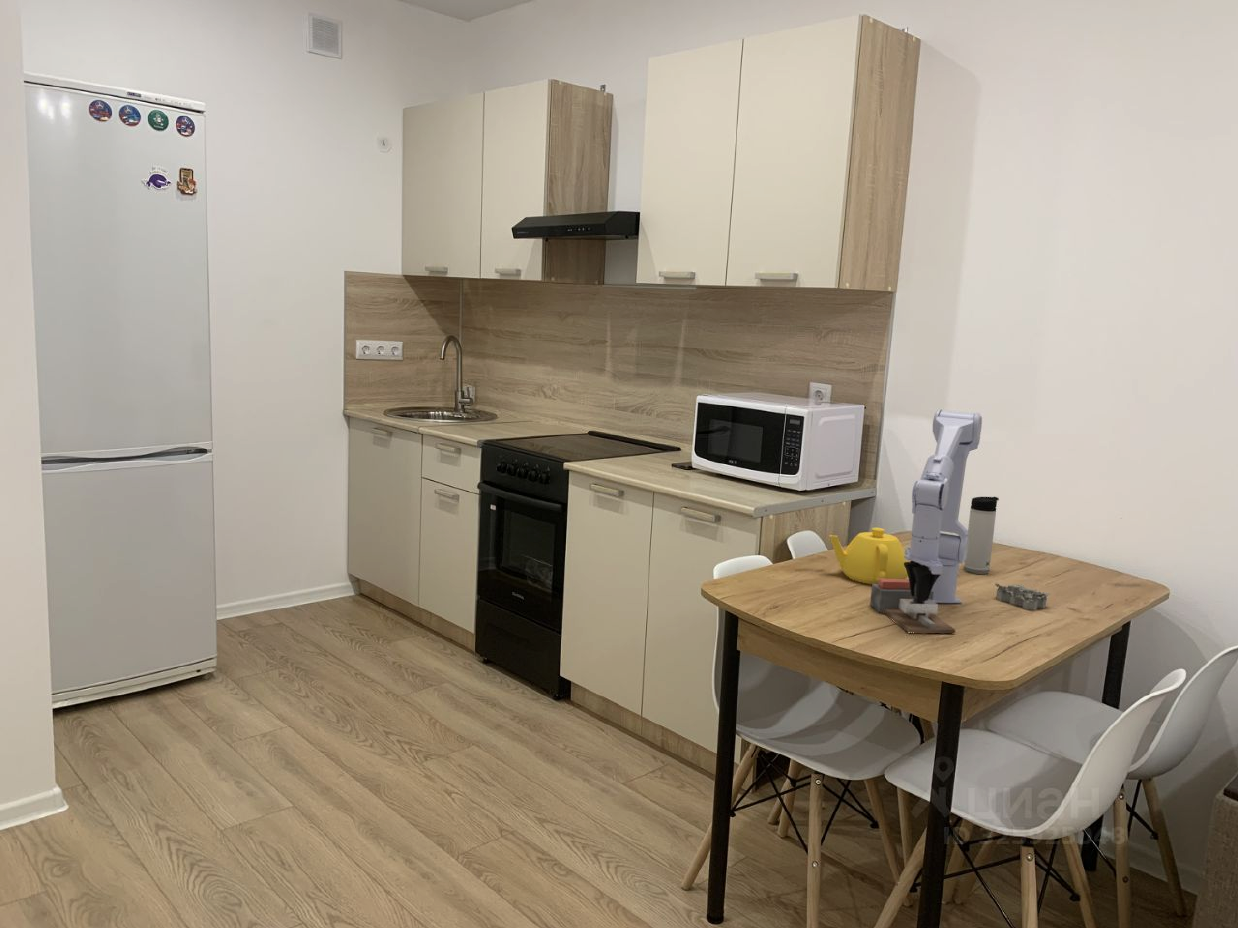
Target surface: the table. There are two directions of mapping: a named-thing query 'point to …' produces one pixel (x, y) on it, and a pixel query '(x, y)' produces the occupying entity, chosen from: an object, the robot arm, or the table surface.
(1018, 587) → the egg carton
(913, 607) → the carriage
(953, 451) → the robot arm
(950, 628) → the rail stand
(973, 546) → the travel mug
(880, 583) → the bar
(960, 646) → the table surface
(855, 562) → the teapot
